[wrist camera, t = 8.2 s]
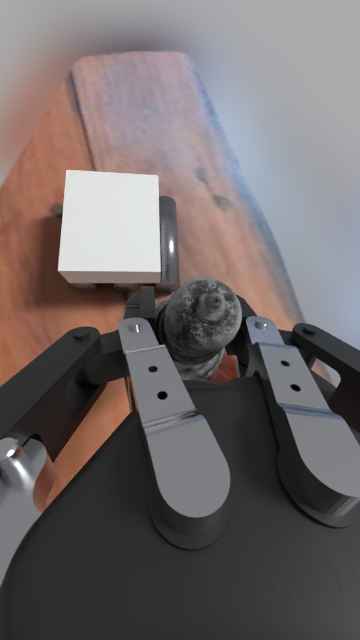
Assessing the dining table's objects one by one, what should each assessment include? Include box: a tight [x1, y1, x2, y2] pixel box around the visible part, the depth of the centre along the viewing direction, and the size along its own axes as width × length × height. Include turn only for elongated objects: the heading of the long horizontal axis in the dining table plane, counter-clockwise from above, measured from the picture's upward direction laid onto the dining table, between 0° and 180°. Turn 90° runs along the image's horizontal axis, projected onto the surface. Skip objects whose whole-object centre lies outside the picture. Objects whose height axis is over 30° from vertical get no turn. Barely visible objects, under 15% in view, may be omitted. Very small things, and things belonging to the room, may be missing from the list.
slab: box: [58, 170, 161, 283], centre depth 25 cm, size 10×12×3 cm
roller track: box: [69, 196, 180, 292], centre depth 28 cm, size 13×12×3 cm
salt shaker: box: [155, 278, 242, 381], centre depth 12 cm, size 6×6×12 cm
